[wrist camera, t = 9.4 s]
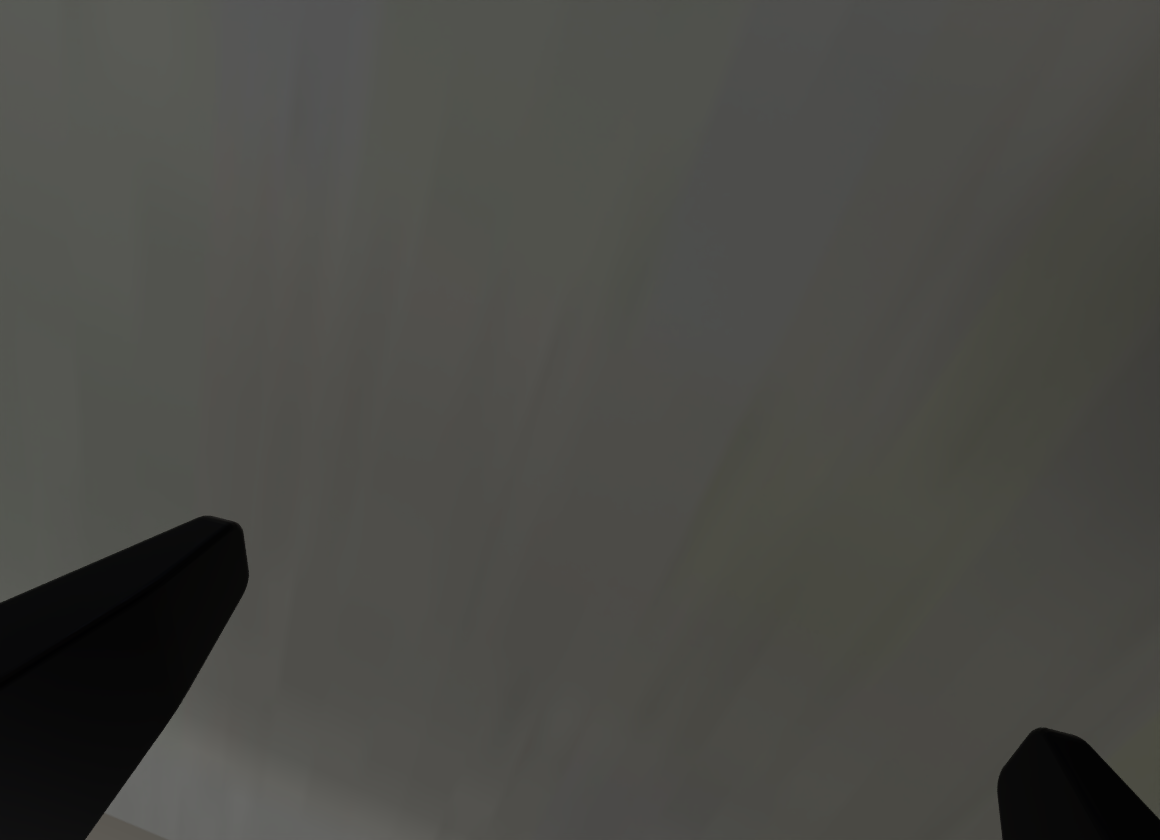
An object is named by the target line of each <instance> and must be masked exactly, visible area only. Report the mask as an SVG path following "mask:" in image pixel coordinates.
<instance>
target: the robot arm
mask: <svg viewBox="0 0 1160 840" xmlns="http://www.w3.org/2000/svg"><path fill="white" fill-rule="evenodd" d="M248 578H249V570H248V562H247V555H246V548H245V541H244V534H243V529H242V528H241V526H240V525H239V524H238V523H236V522H233V521H230V520H226V519H222V518H218V517H214V516H202V517H199V518H196V519H194V520H191V521H189V522H187V523H184V524H182V525H180V526H177V527H175V528H173V529H170V530H168V531H166V532H163V533H161V534H159V535H156V536H154V537H152V538H149V539H147V540H145V541H143V542H140V543H138V544H136V545H133V546H131V547H129V548H126V549H124V550H122V551H119V552H117V553H115V554H112V555H110V556H108V557H105V558H103V559H101V560H98V561H96V562H94V563H92V564H89V565H87V566H85V567H82V568H80V569H78V570H75V571H73V572H71V573H68V574H66V575H64V576H61V577H59V578H57V579H54V580H52V581H50V582H48V583H45V584H43V585H41V586H38V587H36V588H34V589H31V590H29V591H27V592H24V593H22V594H20V595H17V596H15V597H13V598H10V599H8V600H6V601H3V602H1V603H0V840H85V839H86V838H87V836H88V835H89V833H90V832H91V831H92V829H93V828H94V826H95V825H96V824H97V822H98V821H99V819H100V818H101V816H102V815H103V814H104V812H105V811H106V810H107V808H108V807H109V805H110V804H111V802H112V801H113V800H114V798H115V797H116V795H117V794H118V793H119V791H120V790H121V788H122V787H123V786H124V784H125V783H126V781H127V780H128V779H129V777H130V776H131V774H132V773H133V772H134V770H135V769H136V767H137V766H138V765H139V763H140V762H141V760H142V759H143V757H144V756H145V755H146V753H147V752H148V750H149V749H150V748H151V746H152V745H153V743H154V742H155V741H156V739H157V738H158V736H159V735H160V734H161V732H162V731H163V729H164V728H165V726H166V725H167V724H168V722H169V721H170V719H171V718H172V716H173V715H174V713H175V712H176V710H177V709H178V707H179V705H180V704H181V702H182V700H183V699H184V697H185V696H186V694H187V692H188V691H189V689H190V687H191V685H192V684H193V682H194V680H195V678H196V677H197V675H198V673H199V671H200V670H201V668H202V666H203V664H204V663H205V661H206V659H207V657H208V656H209V654H210V652H211V650H212V649H213V647H214V645H215V643H216V641H217V640H218V638H219V636H220V634H221V633H222V631H223V629H224V627H225V626H226V624H227V622H228V620H229V619H230V617H231V615H232V613H233V612H234V610H235V608H236V606H237V605H238V603H239V601H240V599H241V598H242V596H243V594H244V592H245V589H246V587H247V583H248ZM997 792H998V803H999V812H1000V821H1001V830H1002V839H1003V840H1160V819H1159V818H1158V817H1157V816H1156V815H1155V814H1154V813H1153V812H1152V811H1151V810H1150V809H1149V808H1148V807H1147V806H1146V805H1145V803H1144V802H1143V801H1142V800H1141V799H1140V798H1139V797H1138V796H1137V795H1136V794H1135V793H1134V792H1133V791H1132V790H1131V789H1130V788H1129V786H1128V785H1127V784H1126V783H1125V782H1124V781H1123V780H1122V779H1121V778H1120V777H1119V776H1118V775H1117V774H1116V773H1115V772H1114V771H1113V770H1112V768H1111V767H1110V766H1109V765H1108V764H1107V763H1106V762H1105V761H1104V760H1103V759H1102V758H1101V757H1100V756H1099V755H1098V754H1097V753H1096V751H1095V750H1094V749H1093V748H1092V747H1091V746H1090V745H1089V744H1088V743H1087V742H1086V741H1084V740H1083V739H1081V738H1080V737H1077V736H1075V735H1072V734H1068V733H1064V732H1060V731H1056V730H1052V729H1048V728H1037V729H1035V730H1033V731H1032V732H1031V733H1030V734H1029V735H1028V736H1027V737H1026V739H1025V740H1024V741H1023V743H1022V744H1021V745H1020V746H1019V748H1018V749H1017V750H1016V752H1015V753H1014V754H1013V755H1012V757H1011V758H1010V759H1009V761H1008V762H1007V763H1006V765H1005V766H1004V767H1003V769H1002V771H1001V773H1000V776H999V779H998V788H997Z"/></svg>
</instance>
